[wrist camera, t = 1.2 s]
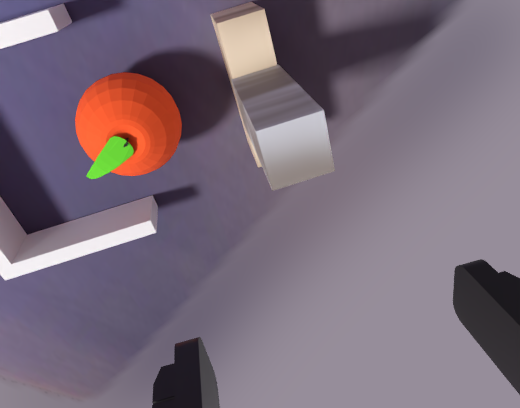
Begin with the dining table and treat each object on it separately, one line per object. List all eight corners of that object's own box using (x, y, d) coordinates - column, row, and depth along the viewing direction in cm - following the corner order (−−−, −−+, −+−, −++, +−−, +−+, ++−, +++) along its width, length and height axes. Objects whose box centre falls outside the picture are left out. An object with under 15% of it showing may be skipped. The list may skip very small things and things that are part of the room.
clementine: (133, 177, 34) (125, 224, 28) (56, 121, 31) (28, 161, 25) (199, 107, 32) (205, 142, 26) (125, 40, 29) (113, 62, 23)
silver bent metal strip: (209, 14, 29) (234, 55, 17) (252, 1, 29) (309, 31, 17) (246, 142, 34) (287, 244, 22) (283, 130, 35) (344, 225, 22)
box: (-118, 58, 27) (-160, 72, 24) (63, 3, 27) (47, 9, 24) (21, 249, 36) (5, 280, 32) (157, 206, 36) (156, 232, 33)
